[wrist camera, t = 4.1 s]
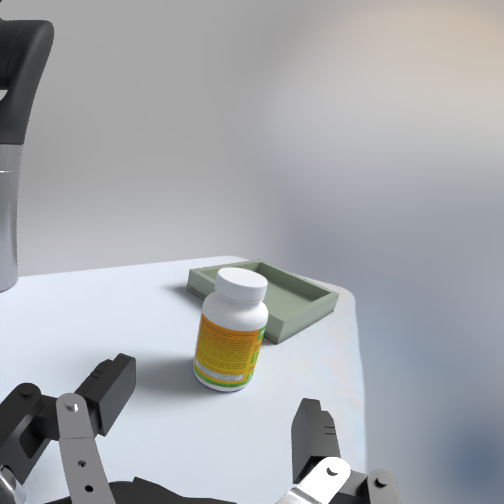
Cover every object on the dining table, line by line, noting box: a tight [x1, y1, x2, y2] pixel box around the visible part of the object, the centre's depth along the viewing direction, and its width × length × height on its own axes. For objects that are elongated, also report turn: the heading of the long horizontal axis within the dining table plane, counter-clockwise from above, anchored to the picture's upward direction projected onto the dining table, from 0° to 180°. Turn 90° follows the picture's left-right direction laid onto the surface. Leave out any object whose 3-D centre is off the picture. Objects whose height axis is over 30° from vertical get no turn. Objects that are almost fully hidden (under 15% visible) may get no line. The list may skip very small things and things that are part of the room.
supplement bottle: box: [193, 267, 268, 391], centre depth 24 cm, size 5×5×10 cm
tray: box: [187, 260, 339, 344], centre depth 43 cm, size 16×16×3 cm
